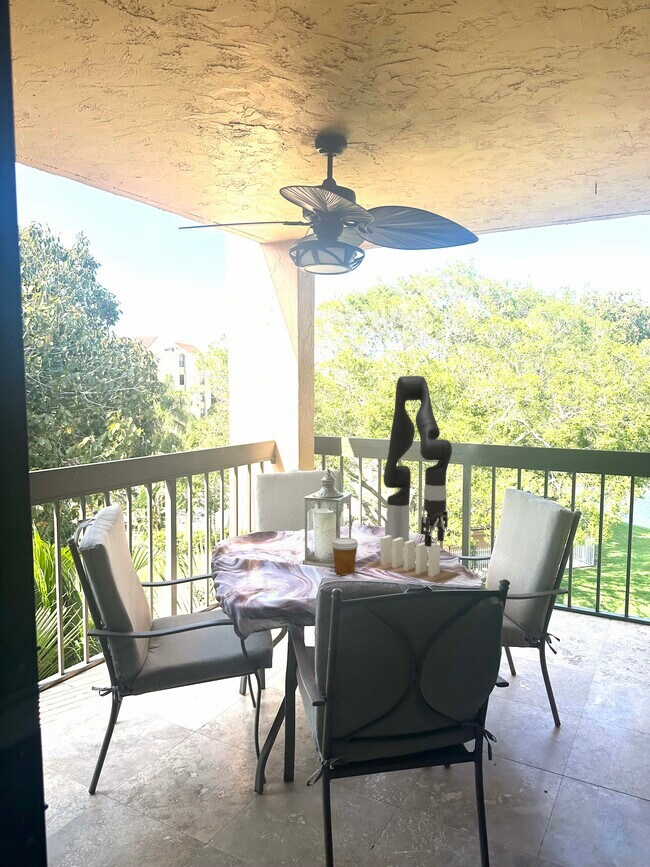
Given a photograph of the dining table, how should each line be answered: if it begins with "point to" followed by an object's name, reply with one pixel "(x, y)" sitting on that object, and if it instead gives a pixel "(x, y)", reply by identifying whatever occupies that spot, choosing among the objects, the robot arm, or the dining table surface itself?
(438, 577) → the walnut board
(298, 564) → the dining table surface
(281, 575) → the dining table surface
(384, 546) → the domino
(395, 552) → the domino
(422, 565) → the domino
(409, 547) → the domino
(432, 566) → the domino
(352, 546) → the disposable coffee cup
